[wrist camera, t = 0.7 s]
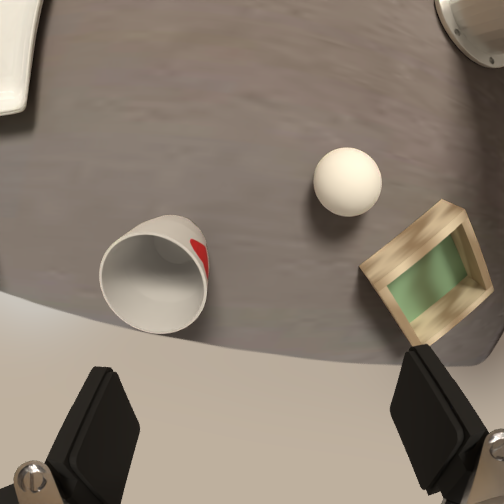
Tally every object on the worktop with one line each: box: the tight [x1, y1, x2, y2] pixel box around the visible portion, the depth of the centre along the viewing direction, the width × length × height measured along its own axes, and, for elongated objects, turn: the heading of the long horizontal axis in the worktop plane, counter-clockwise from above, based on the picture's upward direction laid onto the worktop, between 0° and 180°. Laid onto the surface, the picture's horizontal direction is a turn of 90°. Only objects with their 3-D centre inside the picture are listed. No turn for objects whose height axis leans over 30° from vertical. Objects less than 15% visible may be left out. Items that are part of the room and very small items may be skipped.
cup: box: [99, 215, 209, 334], centre depth 27 cm, size 8×8×10 cm
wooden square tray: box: [359, 199, 494, 346], centre depth 31 cm, size 12×12×4 cm
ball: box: [313, 148, 382, 217], centre depth 27 cm, size 6×6×6 cm
